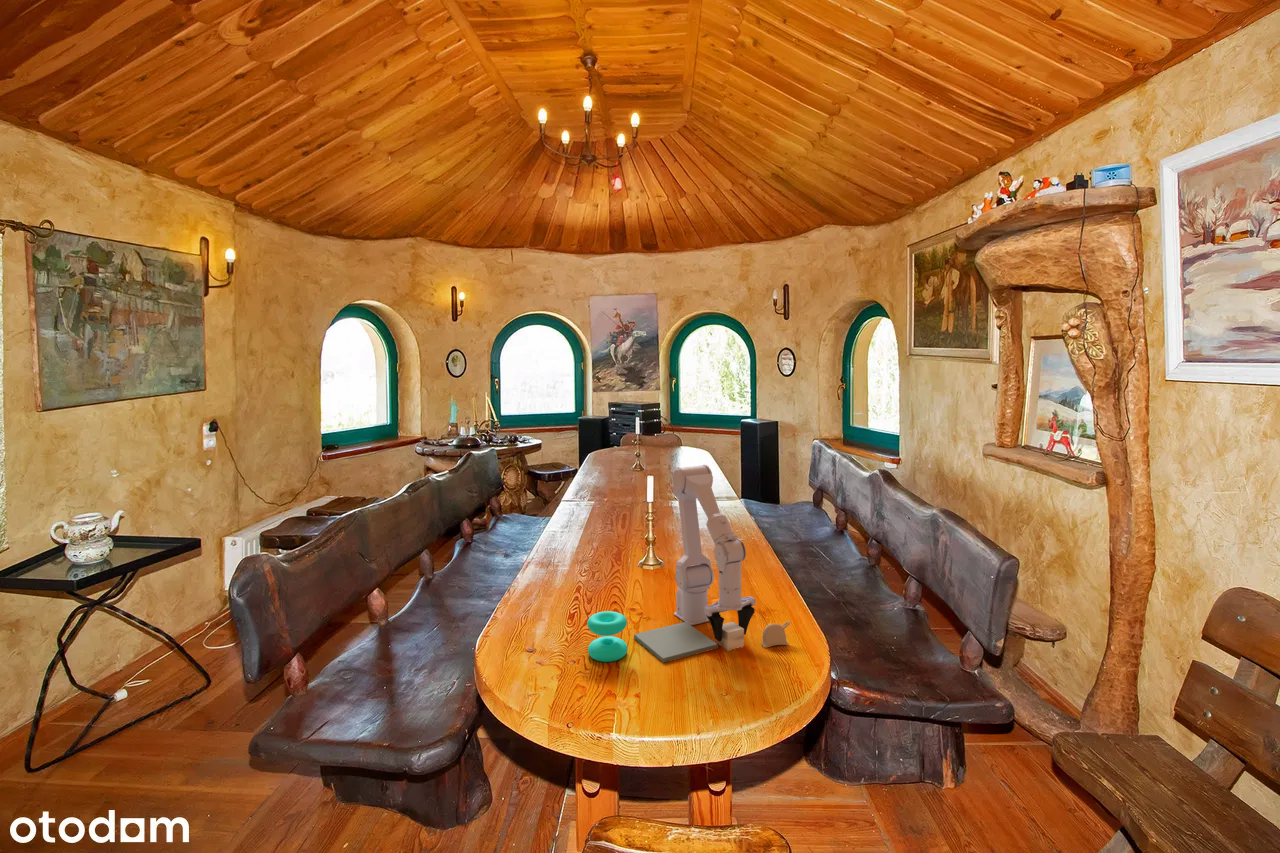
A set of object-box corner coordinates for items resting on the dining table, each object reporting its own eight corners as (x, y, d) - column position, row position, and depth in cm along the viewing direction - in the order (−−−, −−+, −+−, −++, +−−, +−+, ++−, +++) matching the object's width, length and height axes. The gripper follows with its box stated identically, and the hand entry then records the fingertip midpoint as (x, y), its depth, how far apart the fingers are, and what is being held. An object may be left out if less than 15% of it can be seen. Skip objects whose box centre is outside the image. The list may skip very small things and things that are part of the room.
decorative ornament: (758, 641, 177) (758, 622, 176) (788, 638, 179) (788, 619, 178) (764, 648, 173) (763, 628, 172) (794, 644, 175) (794, 625, 174)
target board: (634, 638, 180) (634, 634, 180) (685, 625, 188) (685, 621, 187) (663, 663, 166) (663, 658, 166) (717, 648, 173) (717, 644, 173)
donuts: (634, 617, 170) (602, 628, 163) (635, 655, 171) (604, 667, 164) (610, 606, 177) (579, 616, 171) (611, 642, 178) (580, 654, 172)
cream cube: (716, 643, 176) (716, 625, 176) (732, 639, 179) (732, 621, 178) (727, 651, 172) (727, 632, 171) (743, 647, 174) (743, 628, 174)
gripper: (715, 596, 166) (715, 648, 168) (762, 585, 173) (762, 636, 175) (699, 587, 173) (700, 638, 174) (746, 577, 179) (746, 626, 181)
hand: (730, 636), depth 175 cm, fingers open, 7 cm apart
